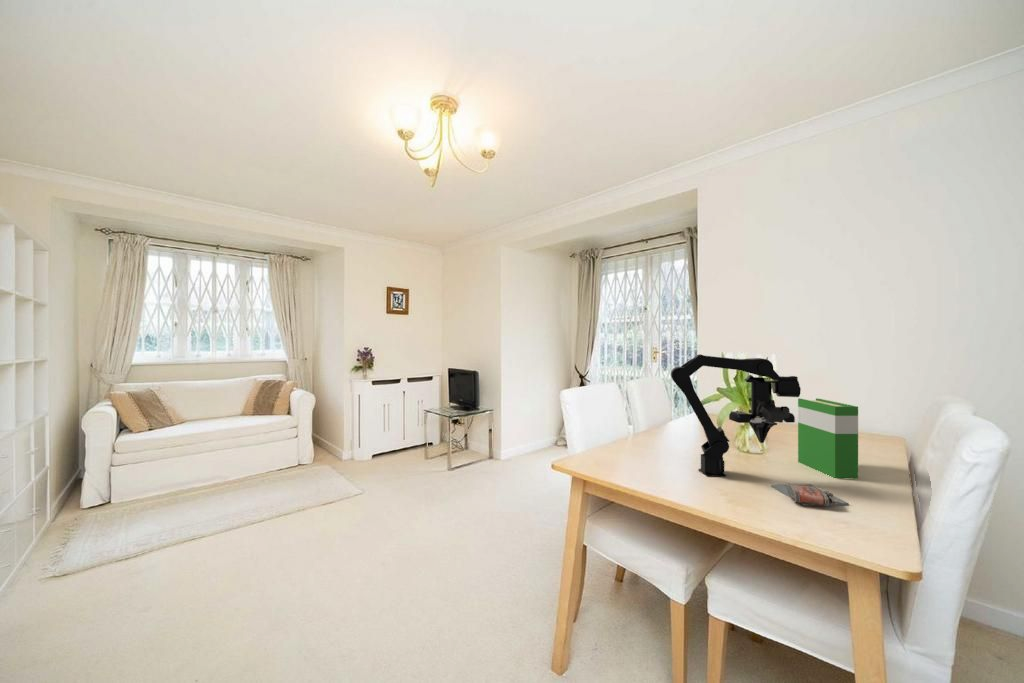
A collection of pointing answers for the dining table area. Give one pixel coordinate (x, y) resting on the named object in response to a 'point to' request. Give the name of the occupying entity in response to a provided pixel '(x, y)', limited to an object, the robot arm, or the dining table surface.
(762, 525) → the dining table surface
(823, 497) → the lighter
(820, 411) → the hardback book
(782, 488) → the mat
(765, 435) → the robot arm
